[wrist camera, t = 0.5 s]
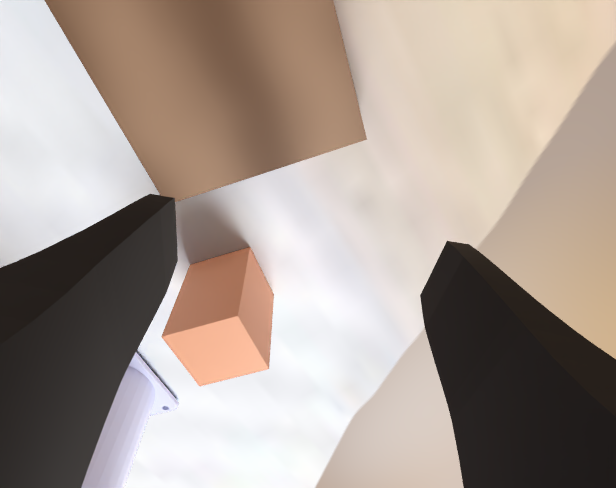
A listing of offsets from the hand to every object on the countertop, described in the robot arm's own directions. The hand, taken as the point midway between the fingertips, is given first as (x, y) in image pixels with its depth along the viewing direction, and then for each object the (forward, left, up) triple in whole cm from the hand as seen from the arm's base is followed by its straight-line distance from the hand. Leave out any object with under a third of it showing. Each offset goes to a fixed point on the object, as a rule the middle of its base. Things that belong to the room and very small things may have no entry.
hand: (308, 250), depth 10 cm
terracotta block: (-7, -7, -11) cm, 15 cm away
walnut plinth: (-2, +5, -11) cm, 12 cm away
